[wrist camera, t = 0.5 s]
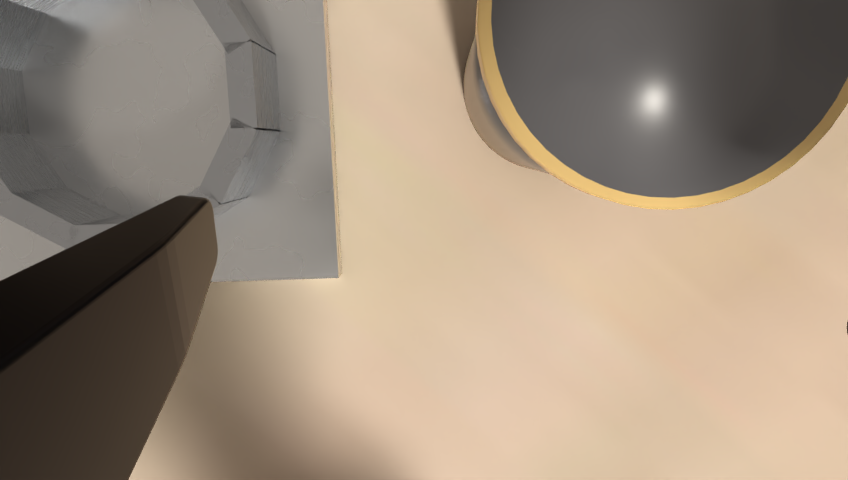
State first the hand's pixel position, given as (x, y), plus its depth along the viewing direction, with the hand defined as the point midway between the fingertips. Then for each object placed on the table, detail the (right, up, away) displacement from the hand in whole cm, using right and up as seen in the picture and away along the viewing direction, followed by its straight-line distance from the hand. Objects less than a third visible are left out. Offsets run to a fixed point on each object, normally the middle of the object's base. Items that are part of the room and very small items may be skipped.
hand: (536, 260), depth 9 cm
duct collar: (-11, +5, +14) cm, 19 cm away
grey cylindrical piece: (+3, +6, +14) cm, 15 cm away
